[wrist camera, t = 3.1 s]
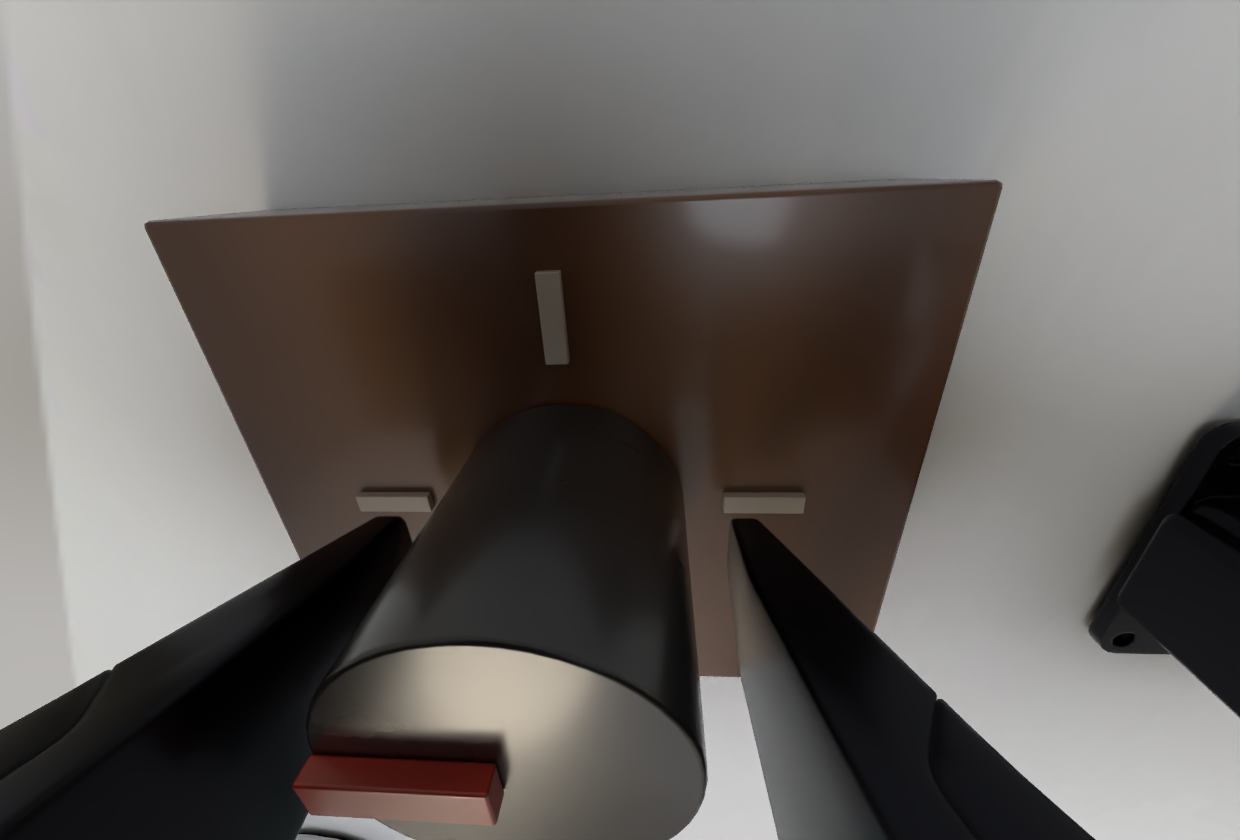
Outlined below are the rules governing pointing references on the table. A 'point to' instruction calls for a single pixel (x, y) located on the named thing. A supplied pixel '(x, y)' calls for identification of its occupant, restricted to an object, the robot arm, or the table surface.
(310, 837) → the pill bottle
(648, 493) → the dial
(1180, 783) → the table surface
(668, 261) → the dial panel
